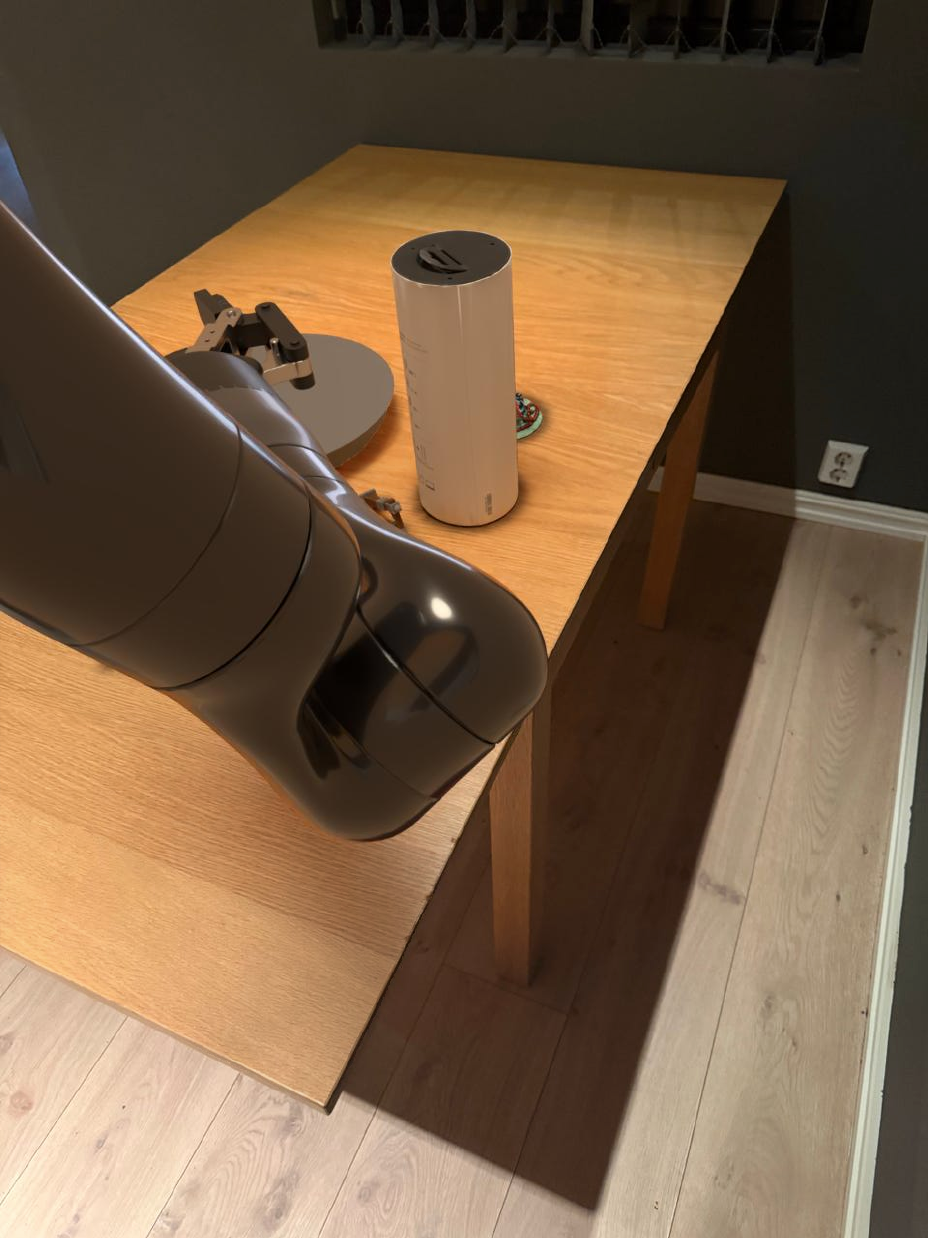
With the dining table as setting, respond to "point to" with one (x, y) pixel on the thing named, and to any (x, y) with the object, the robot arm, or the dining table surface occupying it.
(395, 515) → the jointed metal bracket
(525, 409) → the painted miniature figurine
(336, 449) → the flat disc
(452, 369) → the speaker
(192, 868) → the dining table surface
